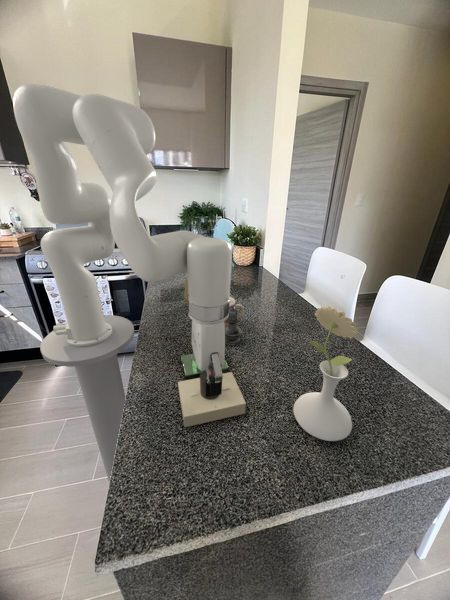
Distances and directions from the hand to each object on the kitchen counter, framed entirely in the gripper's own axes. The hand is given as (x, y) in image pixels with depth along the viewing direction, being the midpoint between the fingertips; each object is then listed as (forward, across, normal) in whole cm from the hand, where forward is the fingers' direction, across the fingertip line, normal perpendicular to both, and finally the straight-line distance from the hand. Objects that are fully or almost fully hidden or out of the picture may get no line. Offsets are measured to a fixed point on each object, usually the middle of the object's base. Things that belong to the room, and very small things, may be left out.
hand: (207, 377), depth 54 cm
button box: (+7, -11, +2) cm, 13 cm away
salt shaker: (+7, -21, +12) cm, 26 cm away
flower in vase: (+6, +10, +22) cm, 25 cm away
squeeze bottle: (+8, -48, +6) cm, 49 cm away
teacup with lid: (+7, -31, +14) cm, 35 cm away
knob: (+4, +1, 0) cm, 4 cm away
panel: (+7, +1, 0) cm, 7 cm away
